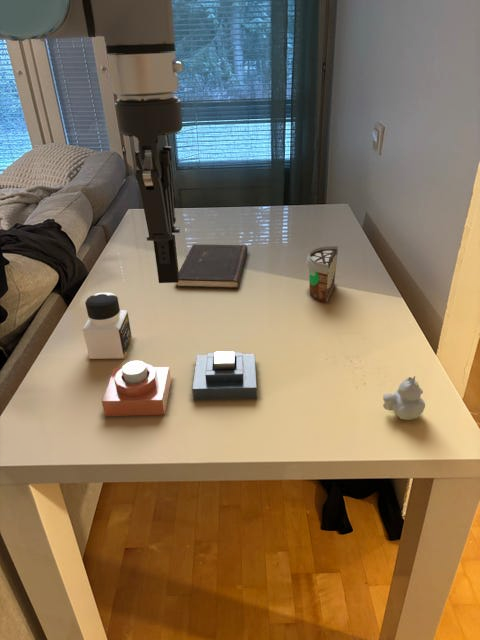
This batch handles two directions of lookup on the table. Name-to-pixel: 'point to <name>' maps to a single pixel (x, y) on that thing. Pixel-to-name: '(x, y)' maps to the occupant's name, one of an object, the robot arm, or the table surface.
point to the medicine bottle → (106, 327)
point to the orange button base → (137, 393)
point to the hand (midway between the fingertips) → (169, 280)
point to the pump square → (224, 361)
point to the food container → (322, 271)
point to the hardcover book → (213, 266)
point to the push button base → (225, 378)
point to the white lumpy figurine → (406, 400)
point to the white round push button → (134, 372)
